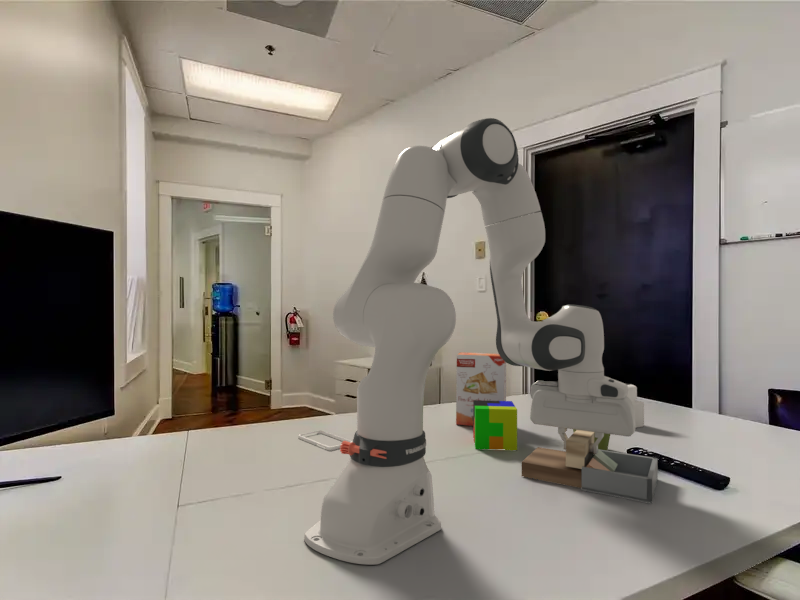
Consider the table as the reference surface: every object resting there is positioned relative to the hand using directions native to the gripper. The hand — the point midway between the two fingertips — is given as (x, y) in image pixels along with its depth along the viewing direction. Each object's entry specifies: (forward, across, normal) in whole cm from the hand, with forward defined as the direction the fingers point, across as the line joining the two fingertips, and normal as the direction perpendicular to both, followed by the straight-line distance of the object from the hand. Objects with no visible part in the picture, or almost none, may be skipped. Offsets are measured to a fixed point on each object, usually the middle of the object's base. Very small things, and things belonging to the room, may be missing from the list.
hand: (580, 451), depth 100 cm
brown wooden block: (+5, -4, 0) cm, 7 cm away
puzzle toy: (+6, -23, +13) cm, 27 cm away
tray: (+5, +8, 0) cm, 9 cm away
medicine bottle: (+6, +3, +51) cm, 51 cm away
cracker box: (+6, -33, +29) cm, 45 cm away
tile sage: (+4, +3, +3) cm, 6 cm away
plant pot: (+6, -1, +21) cm, 22 cm away
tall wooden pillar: (+2, 0, 0) cm, 2 cm away
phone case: (+6, -61, -8) cm, 62 cm away
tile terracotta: (+4, +3, -3) cm, 6 cm away
